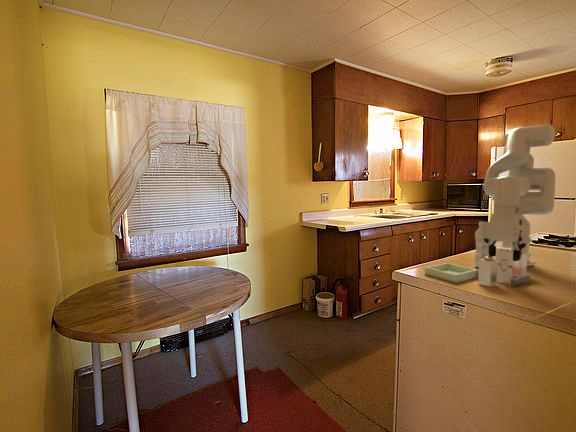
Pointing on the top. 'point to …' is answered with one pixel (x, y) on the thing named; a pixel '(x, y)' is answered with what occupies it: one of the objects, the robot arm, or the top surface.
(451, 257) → the top surface
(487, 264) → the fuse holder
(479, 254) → the plastic bottle
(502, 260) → the ink cartridge box
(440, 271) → the tray
